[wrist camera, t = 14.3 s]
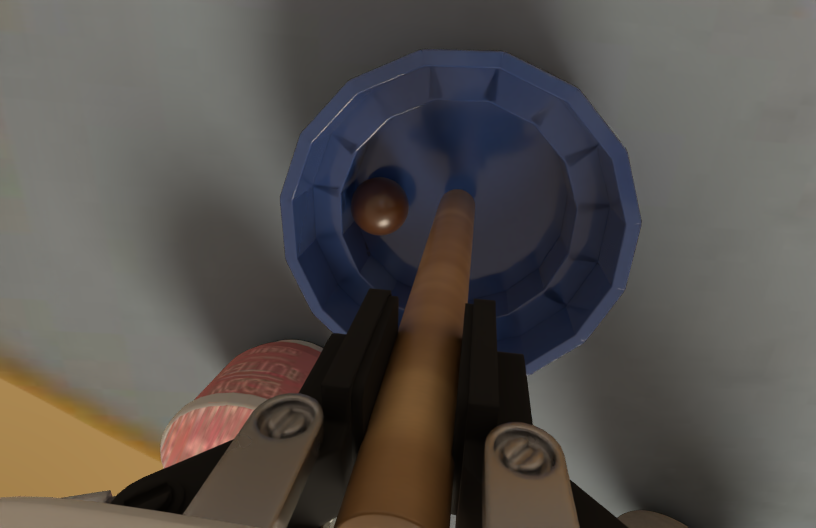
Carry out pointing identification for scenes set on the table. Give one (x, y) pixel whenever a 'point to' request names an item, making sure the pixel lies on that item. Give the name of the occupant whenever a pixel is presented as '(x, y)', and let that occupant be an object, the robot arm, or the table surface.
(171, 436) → the container
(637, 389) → the table surface
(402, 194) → the bead
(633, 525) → the grey-brown thick disc
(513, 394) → the robot arm
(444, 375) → the stick
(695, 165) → the table surface
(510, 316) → the bowl
